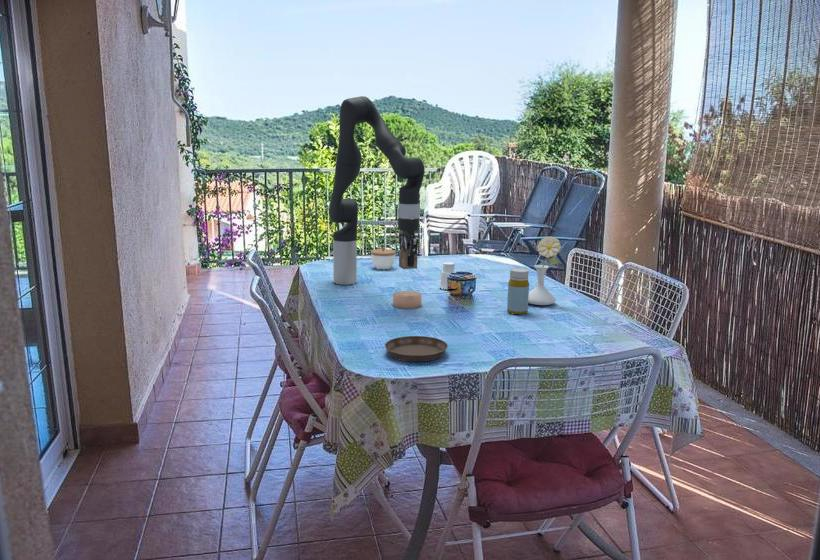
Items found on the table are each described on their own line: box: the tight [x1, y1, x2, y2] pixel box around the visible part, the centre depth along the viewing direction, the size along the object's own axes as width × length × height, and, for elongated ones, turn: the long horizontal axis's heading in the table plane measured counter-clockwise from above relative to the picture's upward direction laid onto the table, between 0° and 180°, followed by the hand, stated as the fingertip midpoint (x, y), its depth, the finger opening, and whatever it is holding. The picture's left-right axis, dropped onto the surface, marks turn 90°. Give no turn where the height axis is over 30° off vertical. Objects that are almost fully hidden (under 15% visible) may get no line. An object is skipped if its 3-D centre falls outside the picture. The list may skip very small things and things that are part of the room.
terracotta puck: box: [392, 290, 423, 310], centre depth 260 cm, size 10×10×4 cm
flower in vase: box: [528, 235, 562, 306], centre depth 263 cm, size 13×11×25 cm
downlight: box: [440, 262, 457, 290], centre depth 286 cm, size 8×7×10 cm
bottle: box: [506, 267, 530, 315], centre depth 252 cm, size 7×7×15 cm
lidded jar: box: [370, 246, 397, 270], centre depth 320 cm, size 11×11×9 cm
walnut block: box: [398, 249, 419, 270], centre depth 257 cm, size 5×5×6 cm
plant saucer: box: [384, 335, 449, 362], centre depth 208 cm, size 18×18×3 cm
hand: (407, 264), depth 258 cm, fingers closed on walnut block, 5 cm apart
